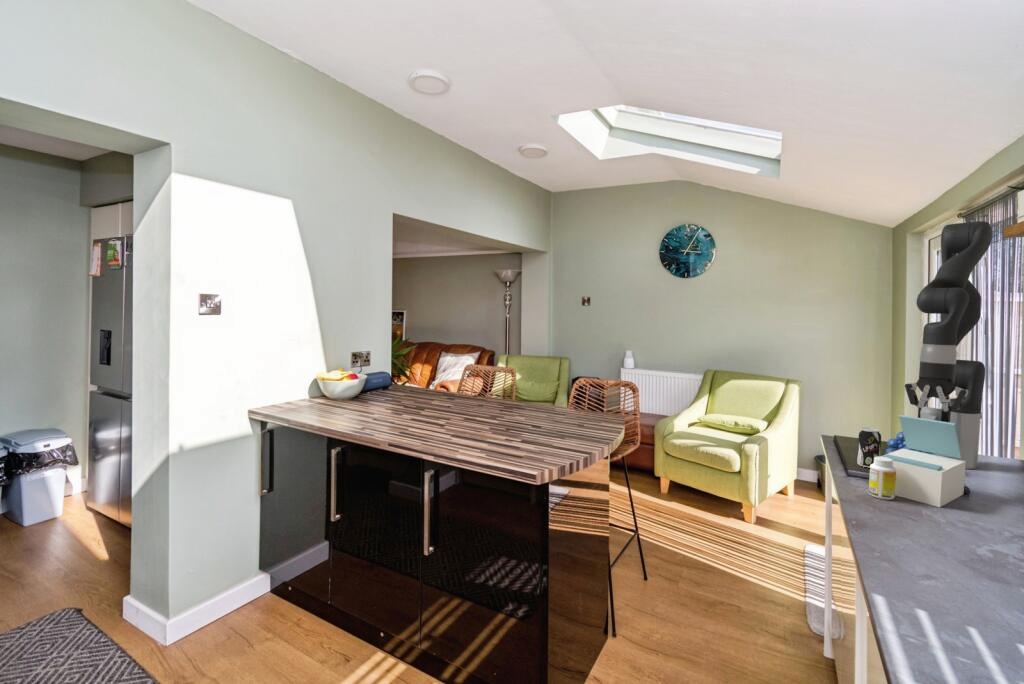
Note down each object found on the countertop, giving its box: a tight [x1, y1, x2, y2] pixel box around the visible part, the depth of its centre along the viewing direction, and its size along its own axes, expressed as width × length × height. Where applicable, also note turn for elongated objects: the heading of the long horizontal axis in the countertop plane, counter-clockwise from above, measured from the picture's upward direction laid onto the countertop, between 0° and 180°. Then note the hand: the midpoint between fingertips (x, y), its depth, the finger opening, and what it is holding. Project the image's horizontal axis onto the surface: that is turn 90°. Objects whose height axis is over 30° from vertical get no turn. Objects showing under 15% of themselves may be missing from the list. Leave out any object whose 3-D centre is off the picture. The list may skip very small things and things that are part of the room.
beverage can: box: [856, 427, 882, 469], centre depth 154 cm, size 6×6×12 cm
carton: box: [880, 448, 966, 508], centre depth 133 cm, size 16×14×10 cm
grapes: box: [885, 431, 934, 455], centre depth 153 cm, size 12×7×12 cm, turn 44°
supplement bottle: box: [868, 455, 896, 501], centre depth 130 cm, size 6×6×10 cm
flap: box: [898, 406, 962, 459], centre depth 136 cm, size 12×12×6 cm
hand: (933, 422), depth 136 cm, fingers closed on flap, 4 cm apart
